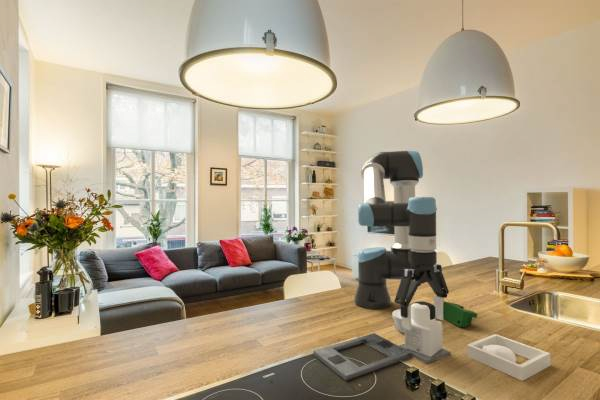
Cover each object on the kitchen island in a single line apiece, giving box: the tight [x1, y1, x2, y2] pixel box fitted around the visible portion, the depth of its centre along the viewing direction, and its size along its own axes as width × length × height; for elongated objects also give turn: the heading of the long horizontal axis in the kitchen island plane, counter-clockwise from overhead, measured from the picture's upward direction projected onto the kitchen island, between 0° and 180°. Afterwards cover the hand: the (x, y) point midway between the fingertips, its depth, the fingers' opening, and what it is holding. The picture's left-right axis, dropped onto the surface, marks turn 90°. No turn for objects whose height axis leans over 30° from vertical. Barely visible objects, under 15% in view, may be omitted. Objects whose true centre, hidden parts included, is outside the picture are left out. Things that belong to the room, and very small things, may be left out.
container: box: [404, 300, 443, 357], centre depth 91 cm, size 8×8×13 cm
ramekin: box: [391, 308, 412, 334], centre depth 106 cm, size 11×11×5 cm
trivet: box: [398, 343, 451, 364], centre depth 91 cm, size 10×10×1 cm
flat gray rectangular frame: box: [312, 332, 413, 382], centre depth 88 cm, size 15×23×1 cm, turn 119°
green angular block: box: [443, 300, 478, 329], centre depth 112 cm, size 12×6×9 cm, turn 4°
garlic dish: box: [466, 333, 551, 382], centre depth 85 cm, size 14×14×3 cm
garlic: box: [482, 345, 517, 363], centre depth 85 cm, size 8×7×4 cm
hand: (423, 323), depth 91 cm, fingers open, 13 cm apart
